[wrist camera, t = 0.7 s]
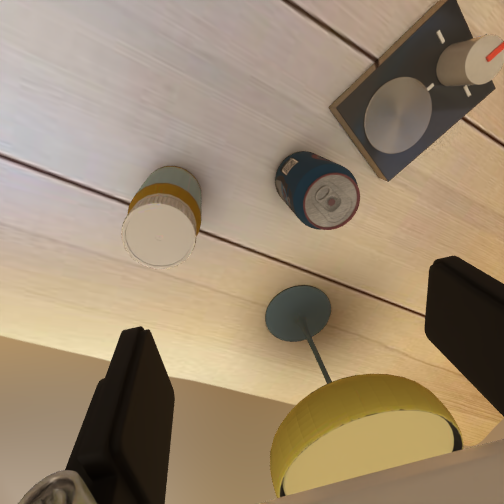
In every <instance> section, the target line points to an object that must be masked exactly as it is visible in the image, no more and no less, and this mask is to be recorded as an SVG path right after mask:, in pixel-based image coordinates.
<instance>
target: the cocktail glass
mask: <svg viewBox="0 0 504 504" xmlns="http://www.w3.org/2000/svg"><path fill="white" fill-rule="evenodd" d="M330 313H331V305H330V302H329V299H328V298H327V296H326V295H325V294H324V293H323V292H322V291H321V290H319V289H317V288H315V287H311V286H295V287H291V288H288V289H286V290H284V291H282V292H281V293H279V294H278V295H277V296H276V297H275V298H274V299H273V300H272V301H271V302H270V304H269V306H268V308H267V311H266V316H265V319H266V325H267V327H268V329H269V331H270V332H271V333H272V334H273V335H274V336H275V337H277V338H279V339H281V340H284V341H290V342H296V341H302V340H306V339H307V341H308V343H309V345H310V347H311V349H312V351H313V353H314V355H315V358H316V360H317V362H318V364H319V366H320V369H321V371H322V373H323V375H324V378H325V380H326V382H327V384H326V385H324V386H322V387H320V388H319V389H317V390H315V391H314V392H312V393H310V394H309V395H308V396H307V397H305V398H304V399H303V400H301V401H300V402H299V403H298V404H297V405H296V406H295V407H294V408H293V409H292V410H291V412H289V414H288V415H287V416H286V418H285V419H284V420H283V422H282V423H281V425H280V426H279V428H278V430H277V433H276V434H275V437H274V440H273V443H272V447H271V451H270V470H271V477H272V482H273V486H274V489H275V493H276V496H277V498H280V497H283V496H287V495H291V494H295V493H298V492H302V491H306V490H310V489H313V488H317V487H321V486H325V485H328V484H332V483H336V482H340V481H343V480H347V479H351V478H355V477H359V476H363V475H366V474H370V473H374V472H378V471H382V470H385V469H389V468H393V467H397V466H401V465H405V464H408V463H412V462H416V461H420V460H424V459H428V458H431V457H435V456H439V455H443V454H447V453H451V452H455V451H458V450H462V449H463V439H462V434H461V431H460V429H459V427H458V426H457V424H456V422H455V420H454V418H453V417H452V415H451V414H450V412H449V411H448V409H447V408H446V407H445V406H444V405H443V403H442V402H441V401H440V400H439V399H438V398H437V397H436V396H435V395H434V394H433V393H432V392H431V391H429V390H428V389H427V388H425V387H423V386H422V385H420V384H419V383H417V382H415V381H412V380H410V379H407V378H404V377H400V376H394V375H389V374H364V375H355V376H350V377H346V378H342V379H339V380H336V381H333V382H332V381H331V379H330V377H329V375H328V373H327V370H326V368H325V366H324V364H323V362H322V360H321V357H320V355H319V353H318V351H317V349H316V346H315V344H314V342H313V340H312V336H314V335H316V334H317V333H319V332H320V331H321V330H322V329H323V328H324V326H325V325H326V324H327V322H328V320H329V317H330Z"/></svg>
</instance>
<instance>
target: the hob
mask: <svg viewBox="0 0 504 504" xmlns="http://www.w3.org/2000/svg"><path fill="white" fill-rule="evenodd" d="M485 35H487V34H485ZM485 35H484V36H485ZM469 39H473V37H472V34H471V32H470V30H469V28H468V25H467V23H466V21H465V19H464V16H463V14H462V12H461V10H460V8H459V5H458V3H457V1H456V0H440V1H438V2H437V3H436V4H435V5H434V6H433V7H432V8H431V9H430V10H429V11H428V12H427V13H426V14H425V15H424V16H423V17H422V18H420V19H419V20H418V21H417V22H416V23H415V24H414V25H413V26H412V27H411V28H410V29H409V30H408V31H407V32H406V33H405V34H404V35H403V36H402V37H401V38H400V39H399V40H398V41H397V42H396V43H395V44H394V45H393V46H392V47H391V48H390V49H388V50H387V51H386V52H385V53H384V54H383V55H382V56H381V57H380V58H379V59H378V60H377V61H376V62H375V63H374V64H373V65H372V66H371V67H370V68H369V69H368V70H367V71H366V72H365V73H364V74H363V75H362V76H361V77H360V78H359V79H357V80H356V81H355V82H354V83H353V84H352V85H351V86H350V87H349V88H348V89H347V90H346V91H345V92H344V93H343V94H342V95H341V96H340V97H339V98H338V99H337V100H336V101H335V102H334V103H333V104H332V105H331V106H330V107H329V109H330V110H331V112H332V113H333V115H334V116H335V117H336V119H337V120H338V122H339V123H340V124H341V126H342V127H343V129H344V130H345V131H346V133H347V134H348V135H349V137H350V138H351V140H352V141H353V142H354V144H355V145H356V147H357V148H358V149H359V151H360V152H361V154H362V155H363V156H364V158H365V159H366V161H367V162H368V163H369V165H370V166H371V168H372V169H373V170H374V172H375V173H376V174H377V176H378V177H379V178H381V179H383V180H385V181H388V182H389V181H390V180H391V179H392V178H393V177H394V176H396V175H397V174H398V173H399V172H400V171H401V170H402V169H404V168H405V167H406V166H407V165H408V164H409V163H411V162H412V161H413V160H414V159H415V158H416V157H417V156H419V155H420V154H421V153H422V152H423V151H424V150H425V149H427V148H428V147H429V146H430V145H431V144H432V143H434V142H435V141H436V140H437V139H438V138H439V137H440V136H442V135H443V134H444V133H445V132H446V131H447V130H449V129H450V128H451V127H452V126H453V125H454V124H455V123H457V122H458V121H459V120H460V119H461V118H462V117H463V116H465V115H466V114H467V113H468V112H469V111H470V110H472V109H473V108H474V107H475V106H476V105H477V104H478V103H480V102H481V101H482V100H483V99H484V98H485V97H486V96H488V95H489V94H490V93H491V92H492V91H493V90H495V86H494V84H493V82H492V80H491V81H489V82H487V83H485V84H481V85H467V86H452V87H448V86H444V85H443V84H441V83H440V81H439V80H438V78H437V73H436V67H437V62H438V60H439V57H440V55H441V54H442V52H443V51H444V50H445V49H446V48H447V47H448V46H450V45H451V44H453V43H456V42H460V41H465V40H469ZM398 77H412V78H415V79H417V80H419V81H420V82H421V83H423V84H424V86H425V87H426V88H427V90H428V92H429V94H430V97H431V102H432V113H431V118H430V121H429V124H428V127H427V129H426V131H425V132H424V134H423V135H422V137H421V138H420V139H419V140H418V141H417V142H416V143H415V144H414V145H413V146H412V147H410V148H409V149H407V150H405V151H402V152H399V153H395V154H388V153H383V152H380V151H378V150H376V149H375V148H374V147H373V146H372V145H371V144H370V143H369V141H368V140H367V138H366V135H365V132H364V114H365V110H366V107H367V105H368V102H369V100H370V99H371V97H372V96H373V94H374V93H375V92H376V91H377V89H378V88H379V87H381V86H382V85H383V84H384V83H386V82H387V81H390V80H392V79H394V78H398Z"/></svg>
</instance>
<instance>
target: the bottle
mask: <svg viewBox="0 0 504 504" xmlns="http://www.w3.org/2000/svg"><path fill="white" fill-rule="evenodd" d="M200 225H201V189H200V186H199V184H198V182H197V180H196V179H195V178H194V176H193V175H192V174H191V173H189V172H188V171H186V170H185V169H183V168H179V167H176V166H166V167H162V168H160V169H157V170H156V171H154V172H153V173H152V174H151V175H150V176H149V177H148V178H147V180H146V181H145V182H144V184H143V185H142V186H141V188H140V189H139V191H138V192H137V193H136V195H135V196H134V198H133V200H132V201H131V203H130V205H129V209H128V215H127V217H126V218H125V221H124V222H123V226H122V233H121V235H122V241H123V245H124V247H125V249H126V251H127V252H128V254H129V255H130V256H131V257H132V258H133V259H134V260H135V261H137V262H138V263H140V264H141V265H143V266H146V267H149V268H153V269H169V268H173V267H175V266H178V265H179V264H181V263H183V262H184V261H185V260H186V259H187V258H188V257H189V256H190V254H191V253H192V251H193V249H194V247H195V243H196V236H197V235H198V232H199V229H200Z"/></svg>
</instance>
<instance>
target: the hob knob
mask: <svg viewBox="0 0 504 504" xmlns="http://www.w3.org/2000/svg"><path fill="white" fill-rule="evenodd" d="M503 64H504V41H503V40H502V39H501V38H500V37H499V36H497V35H485V36H481V37H477V38H473V39H469V40H465V41H460V42H456V43H453V44H451V45H450V46H448V47H447V48H446V49H445V50H444V51H443V52H442V54H441V55H440V57H439V60H438V62H437V67H436V73H437V78H438V80H439V81H440V83H441V84H443V85H444V86H448V87H452V86H467V85H481V84H485V83H487V82H489V81H491V80H492V79H493V78H494V77H495V76H496V75H497V74H498V73H499V71H500V70H501V68H502V66H503Z"/></svg>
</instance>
